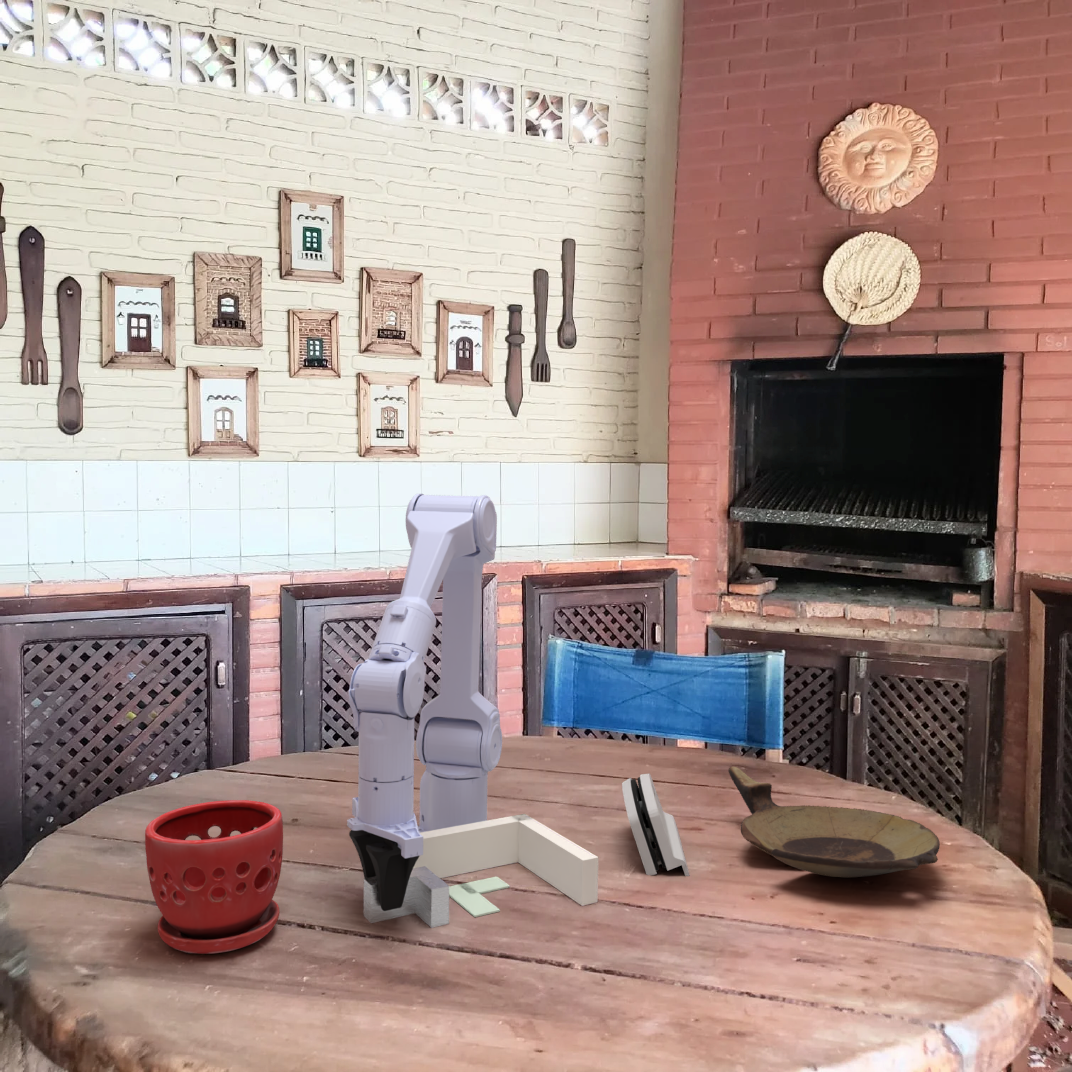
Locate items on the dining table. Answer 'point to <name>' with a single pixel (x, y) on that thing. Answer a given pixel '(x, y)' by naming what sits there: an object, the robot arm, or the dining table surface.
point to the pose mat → (477, 895)
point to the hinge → (652, 826)
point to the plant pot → (215, 874)
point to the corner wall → (513, 853)
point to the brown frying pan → (832, 835)
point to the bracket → (412, 899)
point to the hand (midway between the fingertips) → (385, 901)
